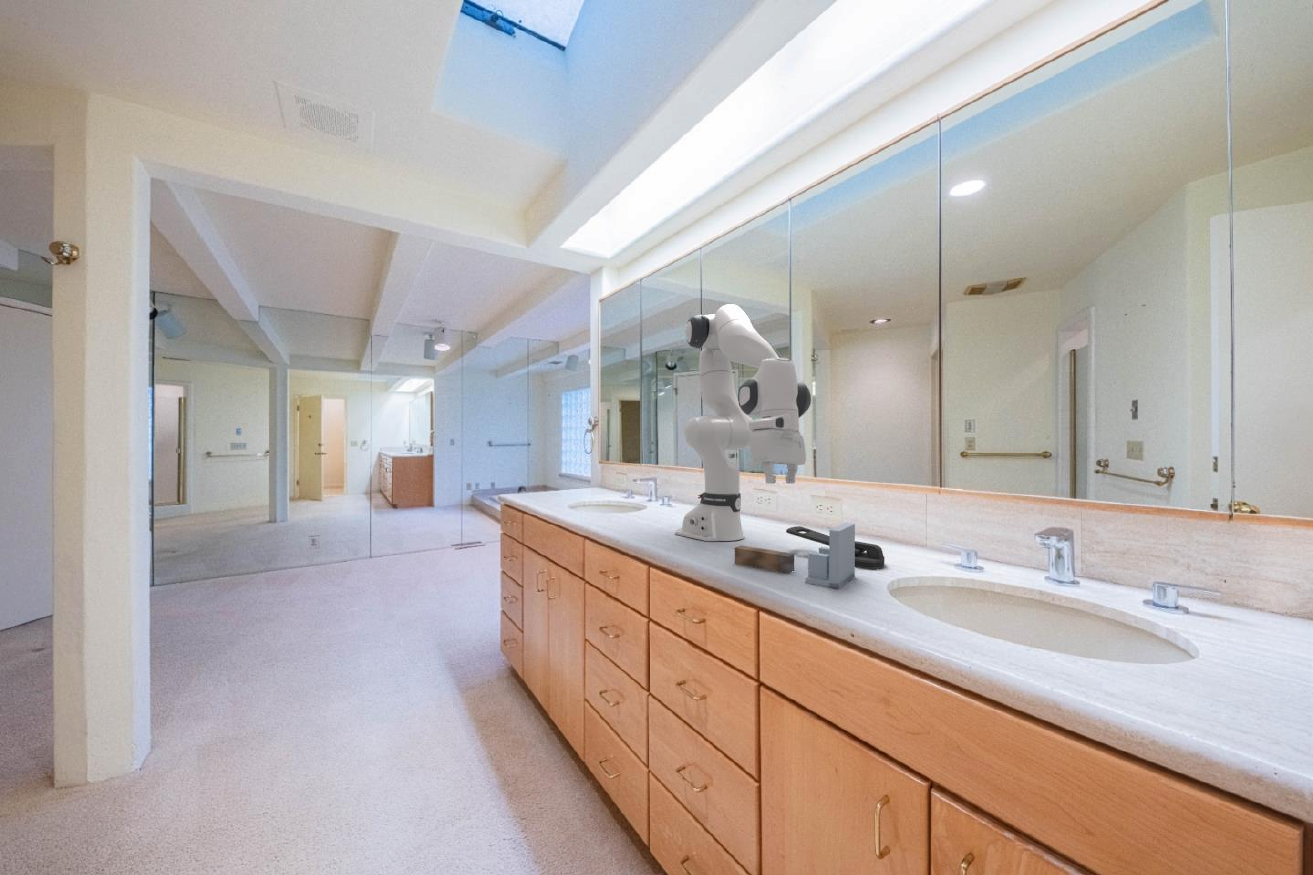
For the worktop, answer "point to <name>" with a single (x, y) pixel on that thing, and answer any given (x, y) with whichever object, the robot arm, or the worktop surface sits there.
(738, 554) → the brown long rectangular block
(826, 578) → the post block
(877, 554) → the black stapler
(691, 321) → the robot arm
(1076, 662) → the worktop surface
